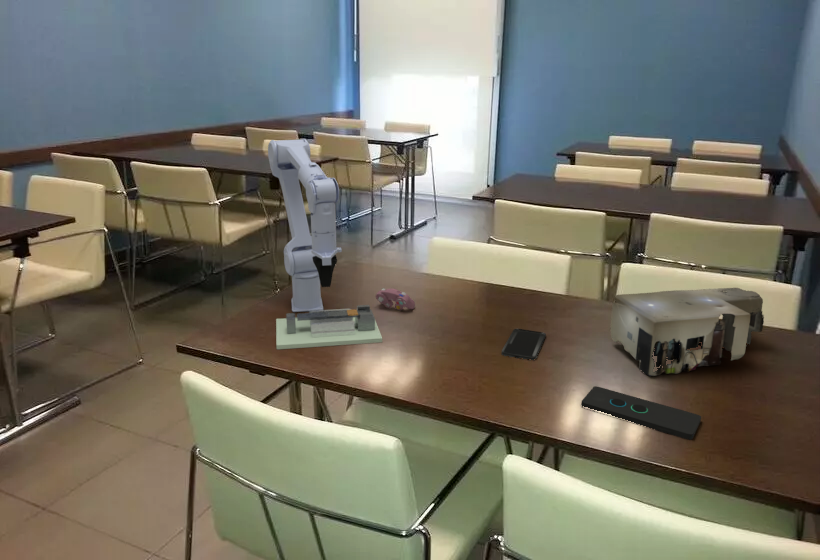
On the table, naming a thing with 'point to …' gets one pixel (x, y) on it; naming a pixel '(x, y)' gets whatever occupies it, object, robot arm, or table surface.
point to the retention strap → (330, 315)
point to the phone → (524, 344)
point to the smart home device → (643, 412)
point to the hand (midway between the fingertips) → (325, 286)
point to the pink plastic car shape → (395, 299)
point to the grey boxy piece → (685, 326)
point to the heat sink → (332, 325)
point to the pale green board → (306, 340)
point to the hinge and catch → (363, 322)
